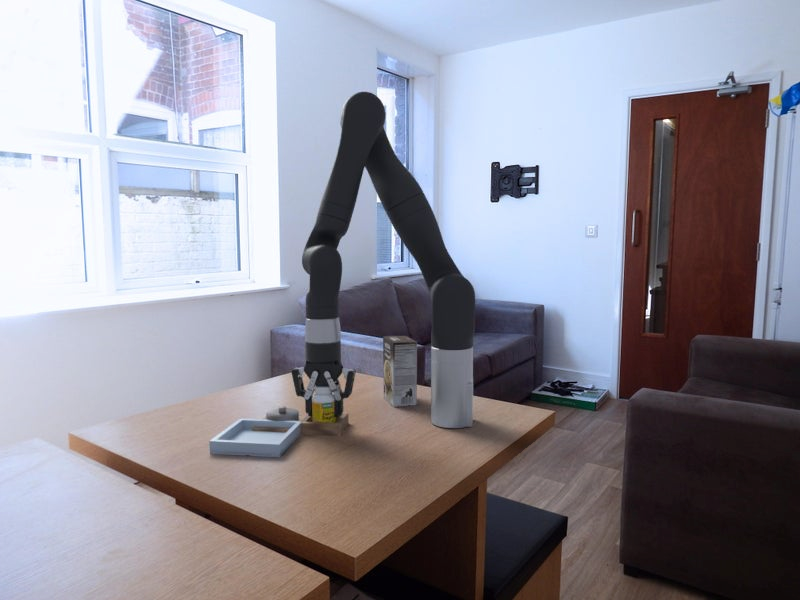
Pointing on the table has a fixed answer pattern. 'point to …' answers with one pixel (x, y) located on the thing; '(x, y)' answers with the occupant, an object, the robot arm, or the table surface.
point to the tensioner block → (305, 423)
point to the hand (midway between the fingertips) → (324, 415)
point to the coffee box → (400, 370)
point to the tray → (255, 438)
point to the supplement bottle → (323, 405)
